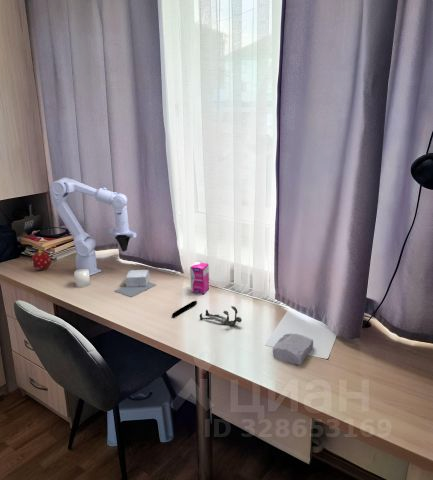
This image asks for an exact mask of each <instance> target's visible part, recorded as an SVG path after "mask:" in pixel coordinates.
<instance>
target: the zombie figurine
mask: <svg viewBox="0 0 433 480" xmlns="http://www.w3.org/2000/svg"><path fill="white" fill-rule="evenodd" d="M230 307H231V309H232V310H233V311H234V317H233V318H234V320H230V314H229V311H227V310H223V312H222V313H223V314H224V315H226V317H225V316H222V315H220V314H212V313H211V314H210V312H209V310H208V309H205V316H206V317H203V313H200V314H199V319H200V321H201V320H207V321H209V320H210V321H211V320H212V321H213V320H216V321H218V322H220V323H221V324H222V325H226V326H231V327H233V326H235V325H236V324H237V323H241V322H242V318H241V317H240V316H237V315H238V313H239V312H238V309H237V308H236V307H235V306H233V305H231V306H230Z"/></svg>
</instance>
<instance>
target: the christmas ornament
mask: <svg viewBox="0 0 433 480" xmlns="http://www.w3.org/2000/svg"><path fill="white" fill-rule="evenodd" d="M51 264H52V257H51V256H50V254H49V253H47V252H45V251H42V250H41V249H38V252H35V253H34V254H33V255H32V257H31V265H32V267H33V268H35V269H36V270H39V271H44V270H46V269H48V268H49V267H50V266H51Z"/></svg>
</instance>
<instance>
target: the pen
mask: <svg viewBox="0 0 433 480" xmlns="http://www.w3.org/2000/svg"><path fill="white" fill-rule="evenodd" d="M197 303H198V300H194V301H191V302H190V303H187V304H186V305H184V306H183V307H181V308H179V309H177V310H176V311H173V312H172V314H171V317H172V318H174V319H175V318H177V317H179V316H180V315H182V314H184V313H185V312H187V311H189V310H190V309H191V308H192V309H193V307H195V306H196V304H197Z"/></svg>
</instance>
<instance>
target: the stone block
mask: <svg viewBox="0 0 433 480" xmlns="http://www.w3.org/2000/svg"><path fill="white" fill-rule="evenodd" d="M313 347H314V339H313V338H310V337H308V336H305V335H303V334H299V333H286V334H285V333H284V334H283V336H282V337H280V338H279V339H278V340H277V342H276V343H275V344H274V346H273V347H272V355H273V357H274V358H275V359H277V360H278V361H281V362H284V363H285V362H286V363H289V364H293V365H297V366H300V365H302V364H303V362H304V360H305V359H306V358H307V356H309V353H310V352H311V351H312V349H313Z"/></svg>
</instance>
